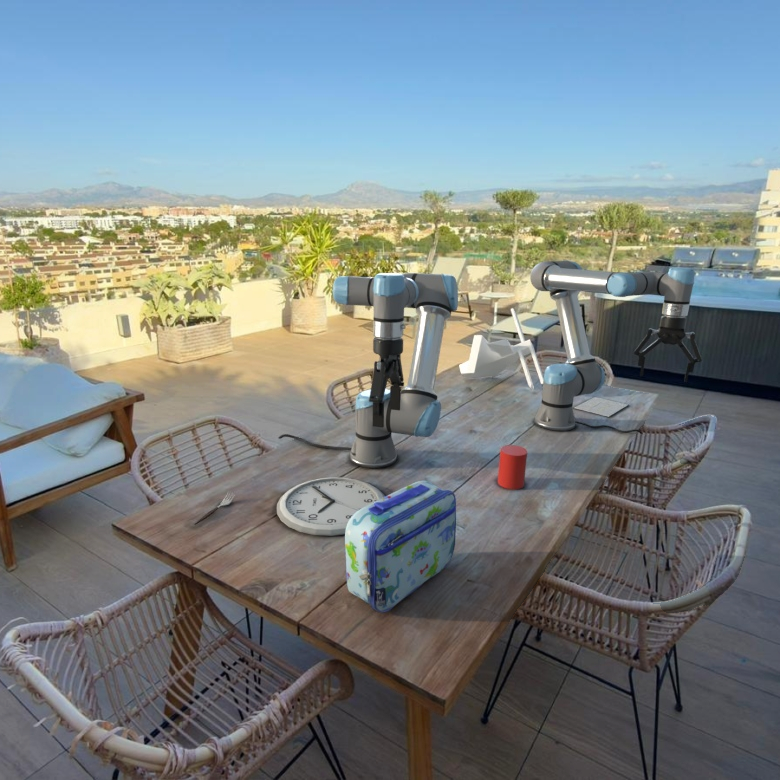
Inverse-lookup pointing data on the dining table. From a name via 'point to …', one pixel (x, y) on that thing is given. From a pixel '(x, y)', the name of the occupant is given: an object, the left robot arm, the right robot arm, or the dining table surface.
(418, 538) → the lunch box
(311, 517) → the wall clock
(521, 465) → the canister
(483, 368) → the white plastic object
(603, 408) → the invitation card
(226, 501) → the fork
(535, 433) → the dining table surface
